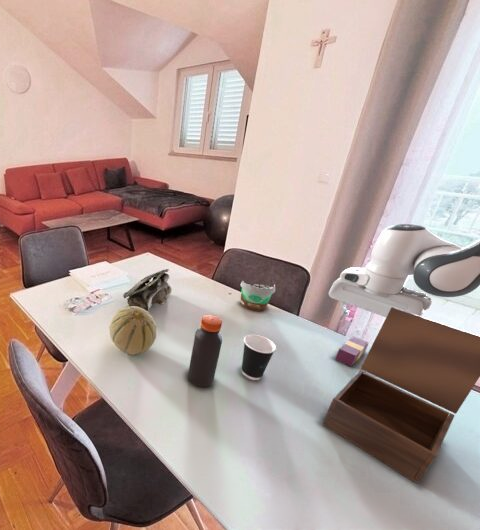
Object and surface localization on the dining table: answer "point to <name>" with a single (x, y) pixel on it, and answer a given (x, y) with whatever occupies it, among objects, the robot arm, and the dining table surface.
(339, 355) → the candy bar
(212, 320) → the bottle
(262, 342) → the dixie cup
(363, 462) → the dining table surface
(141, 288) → the hollow geode rock
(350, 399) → the chest
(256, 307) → the food container
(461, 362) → the lid
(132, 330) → the cantaloupe
